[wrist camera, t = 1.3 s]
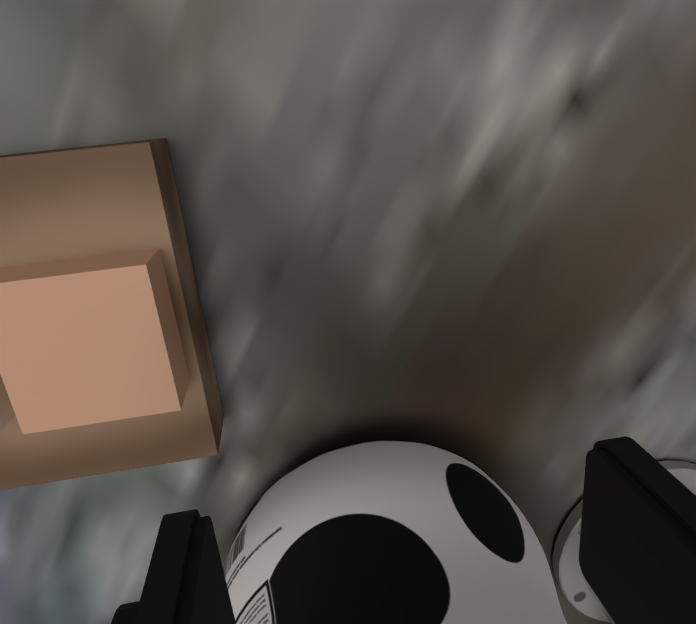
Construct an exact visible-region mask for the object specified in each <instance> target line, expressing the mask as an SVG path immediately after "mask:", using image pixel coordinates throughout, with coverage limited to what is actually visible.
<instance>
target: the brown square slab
mask: <svg viewBox="0 0 696 624" xmlns="http://www.w3.org/2000/svg"><path fill="white" fill-rule="evenodd" d="M156 248H160V253H161V257H162V261H163V266H164V270H165V274H166V279H167V283H168V288H169V292H170V296H171V301H172V305H173V309H174V314H175V318H176V323H177V327H178V331H179V336H180V340H181V344H182V349H183V353H184V357H185V362H186V366H187V371H188V375H189V379H190V382H189V386H188V389H187V392H186V396H185V399H184V402H183V406H182V409H181V410H180V411H173V412H167V413H160V414H154V415H147V416H140V417H134V418H127V419H121V420H114V421H108V422H101V423H95V424H88V425H82V426H75V427H69V428H62V429H55V430H49V431H42V432H36V433H29V434H22V431H21V428H20V426H19V423H18V420H17V418H16V415H15V416H14V417H13V419H12V420H11V421H10V422H9V423H8V425H7V426H6V427H5V428H4V429H3V430H2V432H1V433H0V490H5V489H11V488H17V487H23V486H30V485H36V484H42V483H48V482H54V481H61V480H67V479H73V478H79V477H85V476H91V475H98V474H104V473H110V472H116V471H122V470H128V469H135V468H141V467H147V466H153V465H159V464H166V463H172V462H178V461H184V460H190V459H196V458H203V457H209V456H215V455H218V452H219V445H220V439H221V432H222V425H223V419H224V413H223V409H222V404H221V399H220V394H219V389H218V385H217V380H216V375H215V370H214V365H213V361H212V356H211V351H210V346H209V341H208V337H207V332H206V327H205V322H204V317H203V313H202V308H201V303H200V298H199V293H198V289H197V284H196V279H195V274H194V269H193V265H192V260H191V255H190V250H189V245H188V241H187V236H186V231H185V226H184V221H183V217H182V212H181V207H180V202H179V197H178V193H177V188H176V183H175V178H174V173H173V169H172V164H171V159H170V154H169V149H168V145H167V140H166V138H164V139H154V140H145V141H135V142H126V143H117V144H107V145H98V146H88V147H79V148H69V149H60V150H50V151H41V152H31V153H22V154H12V155H3V156H0V269H1V268H4V267H12V266H20V265H28V264H36V263H44V262H52V261H60V260H68V259H76V258H84V257H92V256H100V255H108V254H116V253H124V252H132V251H140V250H148V249H156Z"/></svg>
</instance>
